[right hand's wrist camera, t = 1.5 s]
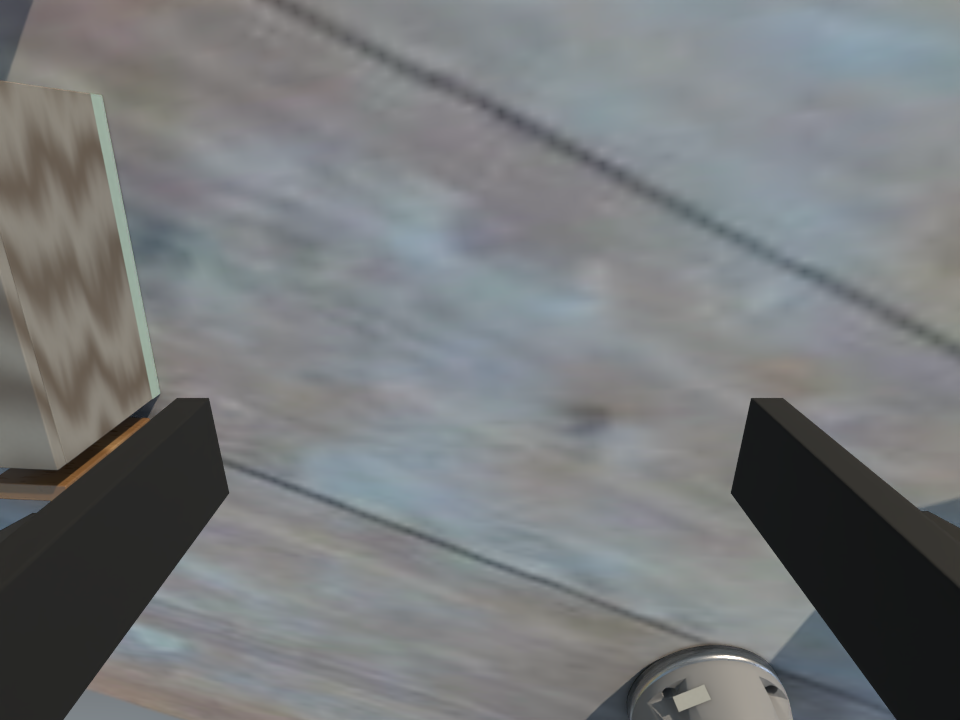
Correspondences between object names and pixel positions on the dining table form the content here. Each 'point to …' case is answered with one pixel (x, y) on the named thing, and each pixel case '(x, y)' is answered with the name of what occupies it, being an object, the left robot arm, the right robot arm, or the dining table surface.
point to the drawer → (64, 467)
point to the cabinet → (64, 282)
